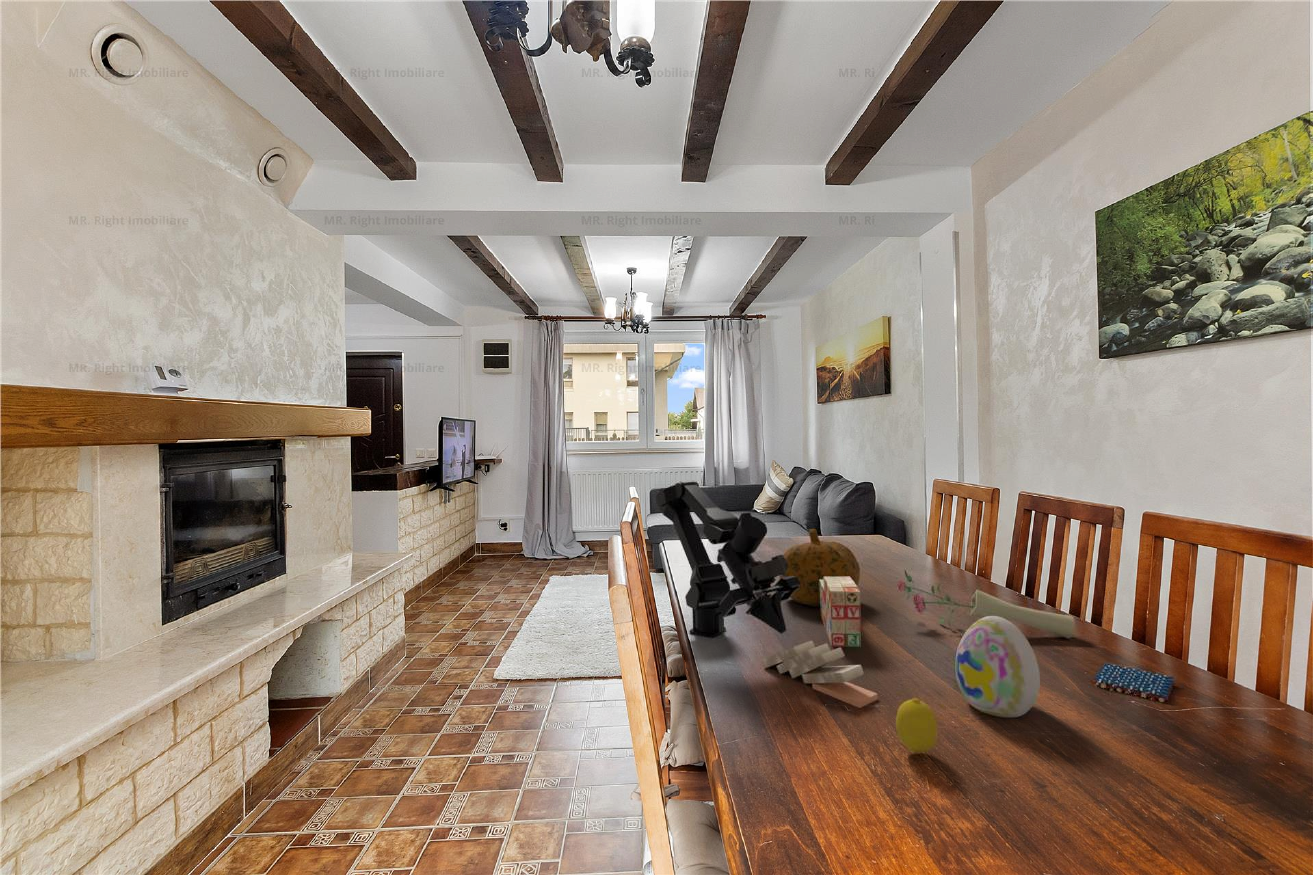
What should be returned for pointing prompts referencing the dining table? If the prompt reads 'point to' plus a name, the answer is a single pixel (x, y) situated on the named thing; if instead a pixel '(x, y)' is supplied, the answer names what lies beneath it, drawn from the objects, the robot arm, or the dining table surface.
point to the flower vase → (1000, 611)
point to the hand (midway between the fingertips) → (783, 632)
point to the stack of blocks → (840, 611)
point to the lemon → (916, 725)
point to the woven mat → (1134, 681)
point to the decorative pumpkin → (818, 566)
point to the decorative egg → (997, 668)
